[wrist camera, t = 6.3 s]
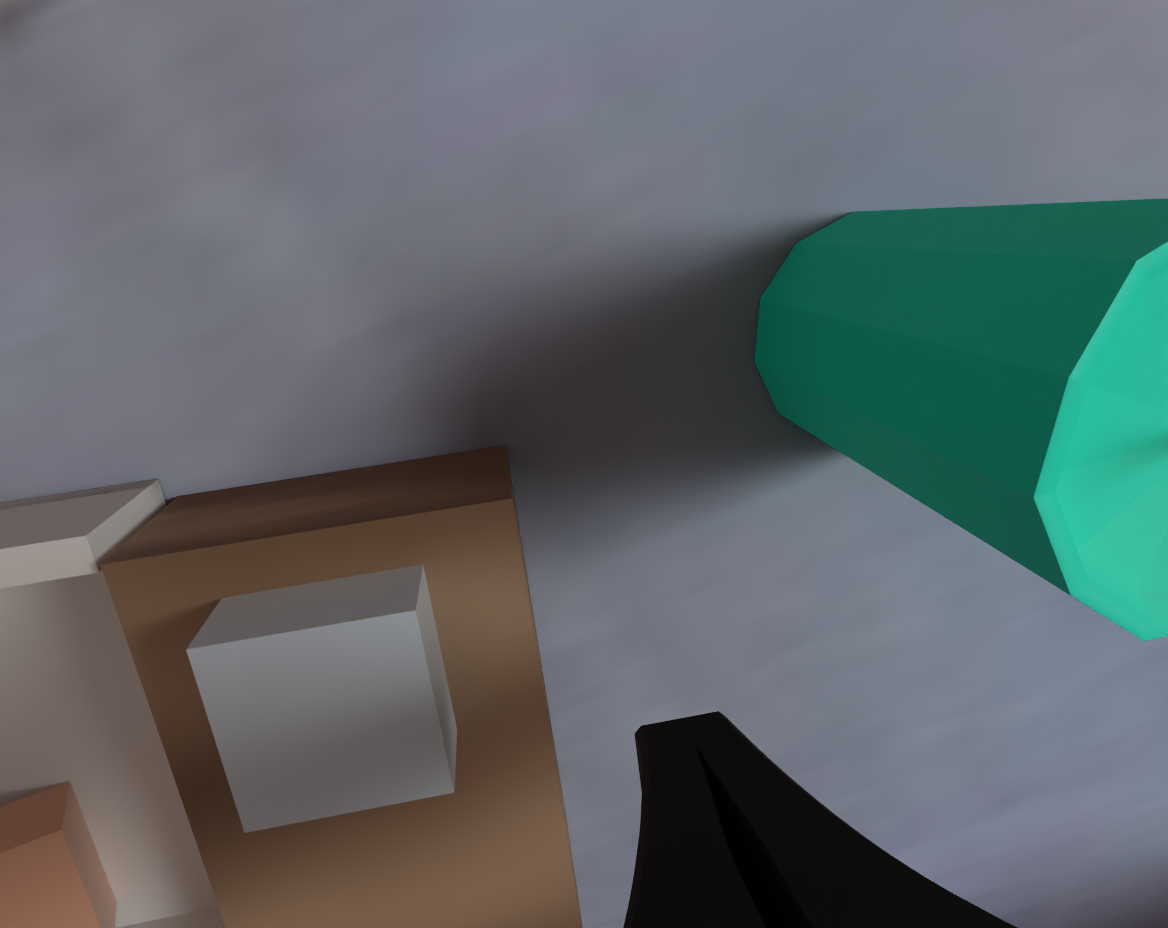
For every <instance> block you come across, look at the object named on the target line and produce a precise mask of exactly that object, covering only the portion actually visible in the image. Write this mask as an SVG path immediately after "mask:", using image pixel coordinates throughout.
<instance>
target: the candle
mask: <svg viewBox="0 0 1168 928" xmlns="http://www.w3.org/2000/svg"><path fill="white" fill-rule="evenodd" d="M754 362H755V364H756V366H757V368H758V370H759V373H760V375H761V377H762V379H763V381H764V383H765V386H766V388H767V390H768V392H769V394H770V396H771V398H772V401H773V403H774V405H775V407H776V409H777V411H778V413H779V414H780V415H782V416H784V417H785V418H787V419H788V420H790V421H792V422H793V423H795V424H796V425H798V426H799V427H801V428H803V429H804V430H806V431H807V432H809V433H811V434H812V435H814V436H815V437H817V438H819V439H820V440H822V441H823V442H825V443H827V444H828V445H830V446H831V447H833V448H835V449H836V450H838V451H839V452H841V453H843V454H844V455H846V456H847V457H849V458H851V459H852V460H854V461H856V462H857V463H859V464H860V465H862V466H864V467H865V468H867V469H868V470H870V471H872V472H873V473H875V474H876V475H878V476H880V477H881V478H883V479H884V480H886V481H888V482H889V483H891V484H892V485H894V486H896V487H897V488H899V489H900V490H902V491H904V492H905V493H907V494H909V495H910V496H912V497H913V498H915V499H917V500H918V501H920V502H921V503H923V504H925V505H926V506H928V507H929V508H931V509H933V510H934V511H936V512H937V513H939V514H941V515H942V516H944V517H945V518H947V519H949V520H950V521H952V522H953V523H955V524H957V525H958V526H960V527H961V528H963V529H965V530H966V531H968V532H970V533H971V534H973V535H974V536H976V537H978V538H979V539H981V540H982V541H984V542H986V543H987V544H989V545H990V546H992V547H994V548H995V549H997V550H998V551H1000V552H1002V553H1003V554H1005V555H1006V556H1008V557H1010V558H1011V559H1013V560H1014V561H1016V562H1018V563H1019V564H1021V565H1023V566H1024V567H1026V568H1027V569H1029V570H1031V571H1032V572H1034V573H1035V574H1037V575H1039V576H1040V577H1042V578H1043V579H1045V580H1047V581H1048V582H1050V583H1051V584H1053V585H1055V586H1056V587H1058V588H1059V589H1061V590H1063V591H1064V592H1066V593H1067V594H1069V595H1071V596H1072V597H1074V598H1075V599H1077V600H1079V601H1080V602H1082V603H1084V604H1085V605H1087V606H1088V607H1090V608H1092V609H1093V610H1095V611H1096V612H1098V613H1100V614H1101V615H1103V616H1104V617H1106V618H1108V619H1109V620H1111V621H1112V622H1114V623H1116V624H1117V625H1119V626H1120V627H1122V628H1124V629H1125V630H1127V631H1128V632H1130V633H1132V634H1133V635H1135V636H1137V637H1138V638H1140V639H1141V640H1143V641H1146V640H1151V639H1156V638H1161V637H1165V636H1168V199H1144V200H1121V201H1097V202H1073V203H1049V204H1025V205H1001V206H978V207H954V208H930V209H906V210H882V211H858V212H851V213H849V214H847V215H846V216H844V217H842V218H840V219H839V220H837V221H835V222H833V223H831V224H830V225H828V226H826V227H824V228H822V229H821V230H819V231H817V232H815V233H814V234H812V235H810V236H808V237H806V238H805V239H803V240H801V241H799V242H797V243H796V244H795V246H794V247H793V249H792V250H791V252H790V253H789V255H788V257H787V258H786V260H785V261H784V263H783V264H782V266H781V267H780V269H779V270H778V272H777V274H776V275H775V277H774V278H773V280H772V281H771V283H770V284H769V286H768V287H767V289H766V291H765V292H764V294H763V295H762V297H761V298H760V306H759V317H758V327H757V338H756V349H755V359H754Z"/></svg>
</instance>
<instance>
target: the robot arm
mask: <svg viewBox="0 0 1168 928" xmlns="http://www.w3.org/2000/svg"><path fill="white" fill-rule="evenodd" d="M635 740H636V749H637V757H638V765H639V773H640V781H641V789H642V803H641V822H640V834H639V842H638V849H637V856H636V864H635V871H634V878H633V884H632V889H631V895H630V900H629V905H628V910H627V914H626V919H625V923H624V928H1017V927H1015V926H1013V925H1011V924H1009V923H1007V922H1005V921H1003V920H1001V919H999V918H997V917H995V916H994V915H992V914H990V913H988V912H986V911H984V910H983V909H981V908H979V907H977V906H975V905H973V904H971V903H970V902H968V901H966V900H964V899H962V898H960V897H959V896H957V895H955V894H953V893H951V892H949V891H948V890H946V889H944V888H943V887H941V886H939V885H937V884H936V883H934V882H932V881H931V880H929V879H927V878H926V877H924V876H922V875H921V874H919V873H918V872H916V871H914V870H913V869H911V868H910V867H908V866H907V865H905V864H904V863H902V862H900V861H899V860H897V859H896V858H894V857H893V856H891V855H890V854H888V853H887V852H885V851H884V850H882V849H881V848H879V847H878V846H877V845H875V844H874V843H872V842H871V841H870V840H868V839H867V838H865V837H864V836H863V835H861V834H860V833H859V832H857V831H856V830H855V829H853V828H852V827H851V826H849V825H848V824H847V823H845V822H844V821H843V820H841V819H840V818H839V817H837V816H836V815H835V814H834V813H832V812H831V811H830V810H829V809H827V808H826V807H825V806H824V805H822V804H821V803H820V802H819V801H817V800H816V799H815V798H814V797H813V796H811V795H810V794H809V793H808V792H807V791H805V790H804V789H803V788H802V787H801V786H800V785H798V784H797V783H796V782H795V781H794V780H793V779H791V778H790V777H789V776H788V775H787V774H786V773H784V772H783V771H782V770H781V769H780V768H779V767H778V766H777V765H775V764H774V763H773V762H772V761H771V760H770V759H769V758H768V757H767V756H766V755H765V754H764V753H762V752H761V751H760V750H759V749H758V748H757V747H756V746H755V745H754V744H753V743H752V742H751V741H750V740H749V739H748V738H747V737H746V736H745V735H744V734H743V733H742V732H741V731H740V730H739V729H737V728H736V727H735V726H734V725H733V724H732V723H731V722H730V721H729V720H728V719H727V717H725V716H724V715H723V714H721V713H720V712H719V711H717V712H712V713H707V714H702V715H696V716H691V717H686V718H680V719H675V720H670V721H665V722H659V723H654V724H649V725H643V726H641V727H640V728H639V729H638V730H637V731H636V733H635Z"/></svg>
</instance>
